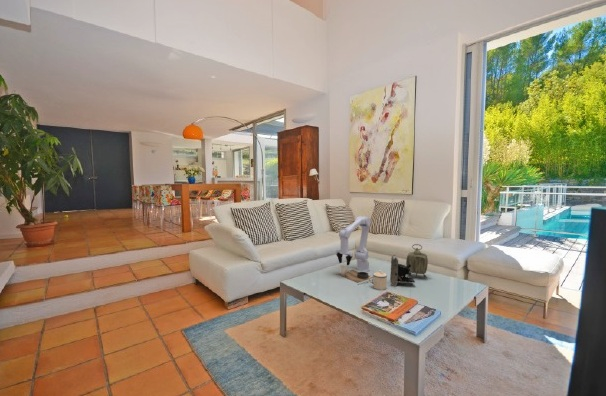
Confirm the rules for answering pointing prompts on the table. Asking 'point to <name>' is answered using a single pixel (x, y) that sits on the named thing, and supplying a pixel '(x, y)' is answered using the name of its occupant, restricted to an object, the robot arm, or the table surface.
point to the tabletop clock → (417, 262)
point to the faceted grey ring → (362, 275)
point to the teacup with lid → (379, 280)
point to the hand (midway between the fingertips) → (344, 263)
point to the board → (353, 276)
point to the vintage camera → (399, 272)
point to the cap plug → (343, 270)
